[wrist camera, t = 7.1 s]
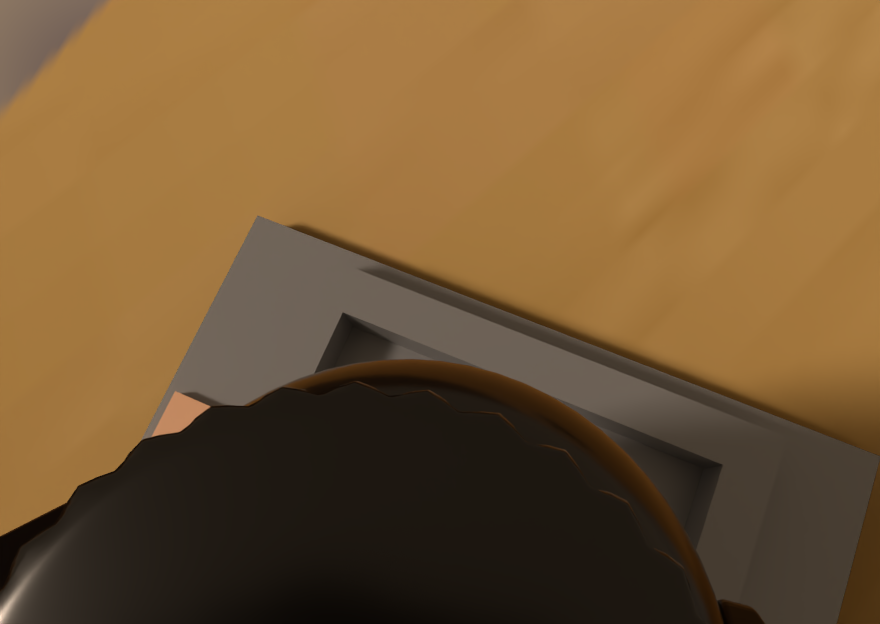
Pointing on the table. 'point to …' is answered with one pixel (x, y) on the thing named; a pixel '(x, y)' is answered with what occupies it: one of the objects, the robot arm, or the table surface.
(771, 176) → the table surface
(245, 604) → the supplement bottle
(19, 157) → the table surface
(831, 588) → the grey recessed tray
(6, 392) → the table surface
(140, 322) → the table surface
